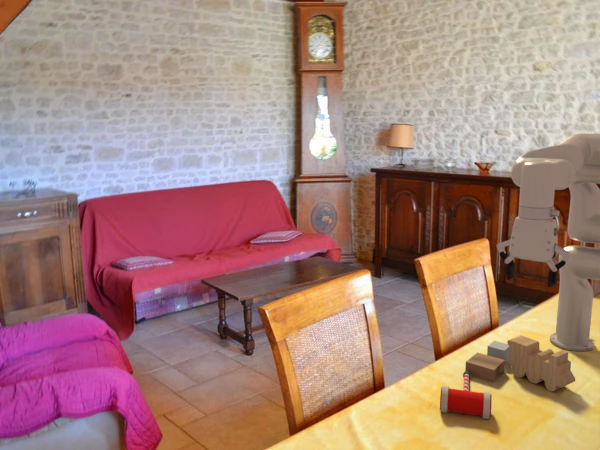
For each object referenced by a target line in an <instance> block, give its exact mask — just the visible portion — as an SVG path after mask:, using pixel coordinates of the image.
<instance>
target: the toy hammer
mask: <svg viewBox="0 0 600 450" xmlns="http://www.w3.org/2000/svg"><path fill="white" fill-rule="evenodd" d="M462 377H463V389H455V388H450V386H449V385H442V387H440V397H439V399H440V401H439V410H440V412H441V413H443V414H447V413H448V412H450V413H451V412H452V413H459V414H465V415H472V416H478V417H482V419H485V420H490V418H491V416H492V394H491V392H490V391H489V390H488V391H486V390H483V392H478V391H471V390H470V378H471V376H470V373H469V372H468V371H464V372H463V373H462Z"/></svg>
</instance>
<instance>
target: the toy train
mask: <svg viewBox="0 0 600 450" xmlns="http://www.w3.org/2000/svg"><path fill="white" fill-rule="evenodd" d="M506 344H508V345H509V347H510V359H509V362H508V365H509V366H510V367H511V373H512V374H513V376H515V377H517V378H523V377H525V376H526V378H527V379H528V381H529V382H531V383H533V384H538V383H541V382H542V381H543V382H544V386H545V388H546V390H548V391H549V392H555V391H556V390H559V389H560V388H564V387H566V386H568V385H570V384H573V383H574V382H576V377H575V376H574V374H573V372H572V369H571V364H572V362H571V360H569V351H568V350H566V349H561V350H559V351H556V352H554V351H553V350H552V349H551V348H548V349H546V350H541V349H540V342H539V341H538V340H535V339H532V338H530V337H526V336H523V335H519V336H516V337H513V338H511V339H508V340H507V343H506Z"/></svg>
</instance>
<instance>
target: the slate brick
mask: <svg viewBox="0 0 600 450" xmlns="http://www.w3.org/2000/svg"><path fill="white" fill-rule="evenodd" d="M486 352H487V353H486V355H488V356H492V357H496V358H499V359H503V360H505V366H506V365H507V364H509V359H510V347H509V345H508V343H506V342H505V343H504V342H501V341H497V340H493V341H492V342H491V343H489V344H488V345H487V350H486Z"/></svg>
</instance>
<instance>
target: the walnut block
mask: <svg viewBox="0 0 600 450" xmlns="http://www.w3.org/2000/svg"><path fill="white" fill-rule="evenodd" d="M505 366H506V365H505V360H503V359H499V358H496V357H492V356H488V355H487V354H484V353H481V352H476V353H475V354H474V355H472V356H471V357H470V358H469V359H468V360H466V361H465V371H468V372H469V373H470V377H473V378H476V379H480V380H482V381H483V380H484V381H487V382H490V383H493V384H494V383H495V382H496V381H497V380H498V379H499V378H500V377H501V376H502V375H503V374H504V373H505ZM465 371H464V372H465Z"/></svg>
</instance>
